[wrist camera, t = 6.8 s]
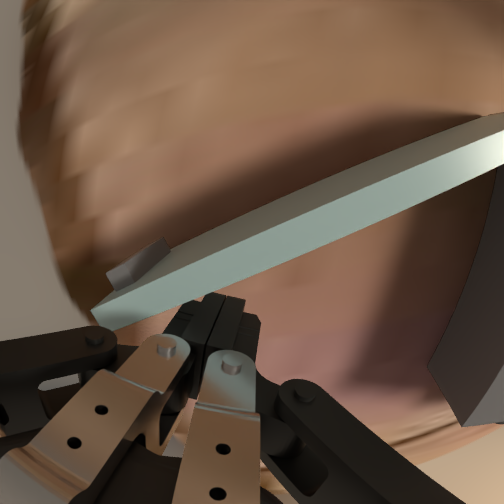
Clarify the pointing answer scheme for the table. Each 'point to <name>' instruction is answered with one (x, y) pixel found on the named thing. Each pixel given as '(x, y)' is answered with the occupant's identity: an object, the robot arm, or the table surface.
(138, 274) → the side door
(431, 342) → the table surface
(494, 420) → the camera housing
